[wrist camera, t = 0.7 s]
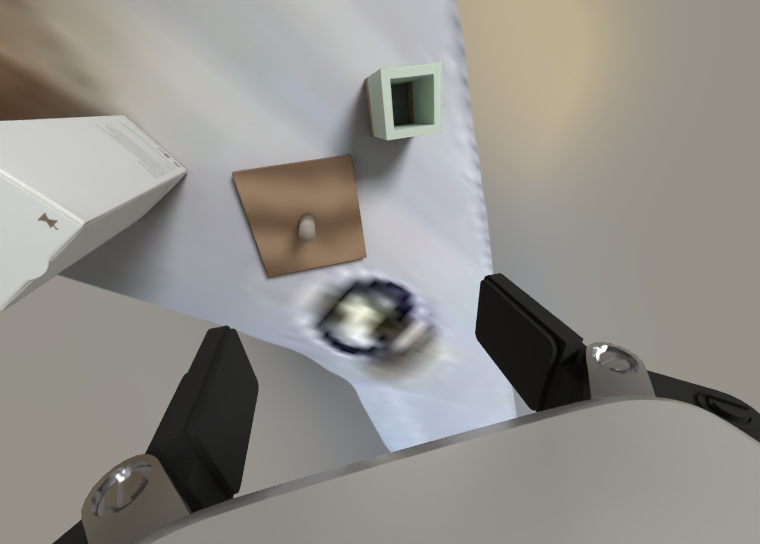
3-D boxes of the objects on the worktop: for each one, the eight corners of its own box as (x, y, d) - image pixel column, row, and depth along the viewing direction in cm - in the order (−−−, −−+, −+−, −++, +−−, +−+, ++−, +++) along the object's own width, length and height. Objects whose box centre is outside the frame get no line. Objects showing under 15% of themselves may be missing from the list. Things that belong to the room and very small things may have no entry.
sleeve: (364, 79, 28) (380, 68, 22) (413, 73, 28) (442, 62, 22) (371, 135, 30) (386, 140, 24) (415, 129, 31) (442, 132, 25)
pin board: (234, 171, 29) (219, 182, 24) (350, 154, 31) (357, 161, 26) (269, 273, 35) (263, 297, 30) (365, 254, 36) (373, 274, 32)
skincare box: (126, 113, 25) (-83, 108, 12) (194, 174, 28) (92, 225, 15) (65, 175, 26) (-189, 236, 13) (138, 227, 29) (-4, 318, 16)
